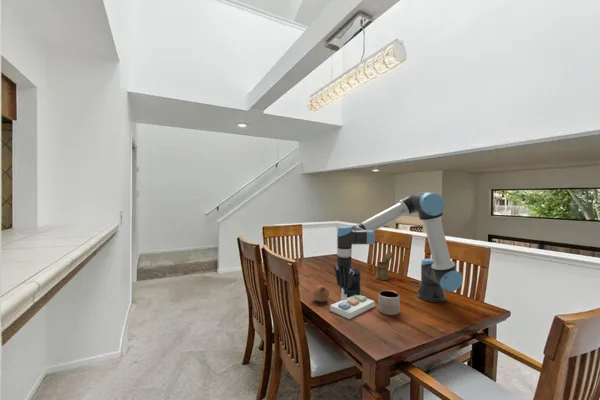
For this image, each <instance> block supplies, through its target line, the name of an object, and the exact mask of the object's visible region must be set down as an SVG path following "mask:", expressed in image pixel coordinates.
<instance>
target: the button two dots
mask: <svg viewBox="0 0 600 400" xmlns="http://www.w3.org/2000/svg"><path fill="white" fill-rule="evenodd" d="M355 299H356V300H359V302H364V301H366V300H367V299H368V298H367V296H365V295H362V294H360V295H358V296H356V297H355Z"/></svg>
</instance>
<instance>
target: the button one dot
mask: <svg viewBox="0 0 600 400" xmlns="http://www.w3.org/2000/svg"><path fill="white" fill-rule="evenodd" d="M338 307H339V308H341V309H344V310H347V309H349V308H351V304H349V303H346V302H342V303H340V304H338Z"/></svg>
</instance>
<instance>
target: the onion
mask: <svg viewBox="0 0 600 400" xmlns="http://www.w3.org/2000/svg"><path fill="white" fill-rule="evenodd" d="M312 296H313V298H314V300H315V302H318V303H325V302H326V301H327V300H328V298H329V296H330V291H329V289H328V288H327V286H325V285H317V286H315V288H314V289H313V292H312Z"/></svg>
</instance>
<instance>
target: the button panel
mask: <svg viewBox="0 0 600 400" xmlns="http://www.w3.org/2000/svg"><path fill="white" fill-rule="evenodd" d="M356 296H358V295H353V296H351V297H349V298H348V297H347V300H349V299H351V298H353V299H355V297H356ZM347 300H344V301H343V300H339V301H337V302H335V303H333V304H332V303H331V304H330V307H329V308H330V309H329V310H330V312H332V313H334V314H337V315H339V316H341V317H343V318H346V319H348V320H351V319H352V318H354V317H357V316H358V315H359V316H360V314H362V313H364V312H366V311H369V310H370V309H373V308H374V307H375V306H376V304H375V302H376V301H374V300H372V299H370V298H367V300H366V301H364V302H359V304H357V305H355V306H352V305H351V308H349V309H347V310H344V309H341V308H339V307H338V304H340V303H342V302H346V303H347Z"/></svg>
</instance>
